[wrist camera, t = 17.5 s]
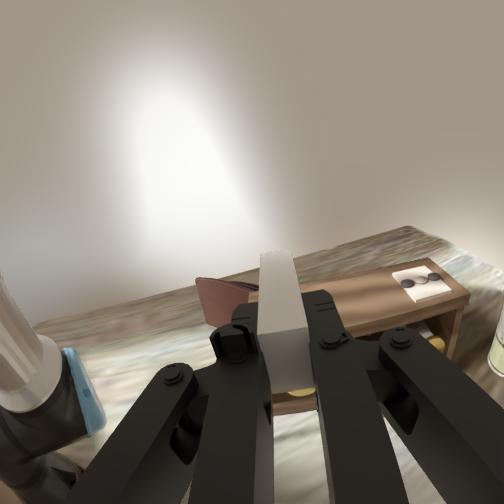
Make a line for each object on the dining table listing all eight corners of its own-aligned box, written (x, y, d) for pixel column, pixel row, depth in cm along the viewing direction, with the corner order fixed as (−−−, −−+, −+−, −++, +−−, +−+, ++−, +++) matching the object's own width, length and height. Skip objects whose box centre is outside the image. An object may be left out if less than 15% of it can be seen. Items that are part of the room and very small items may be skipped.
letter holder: (267, 347, 58) (253, 290, 53) (206, 324, 71) (190, 275, 66) (293, 322, 64) (284, 267, 60) (233, 305, 78) (220, 258, 73)
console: (451, 371, 37) (471, 288, 31) (265, 416, 40) (242, 339, 35) (421, 327, 50) (428, 253, 44) (266, 361, 53) (248, 288, 48)
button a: (442, 359, 34) (447, 335, 33) (416, 368, 35) (421, 345, 33) (411, 315, 47) (412, 293, 45) (388, 321, 47) (389, 299, 46)
